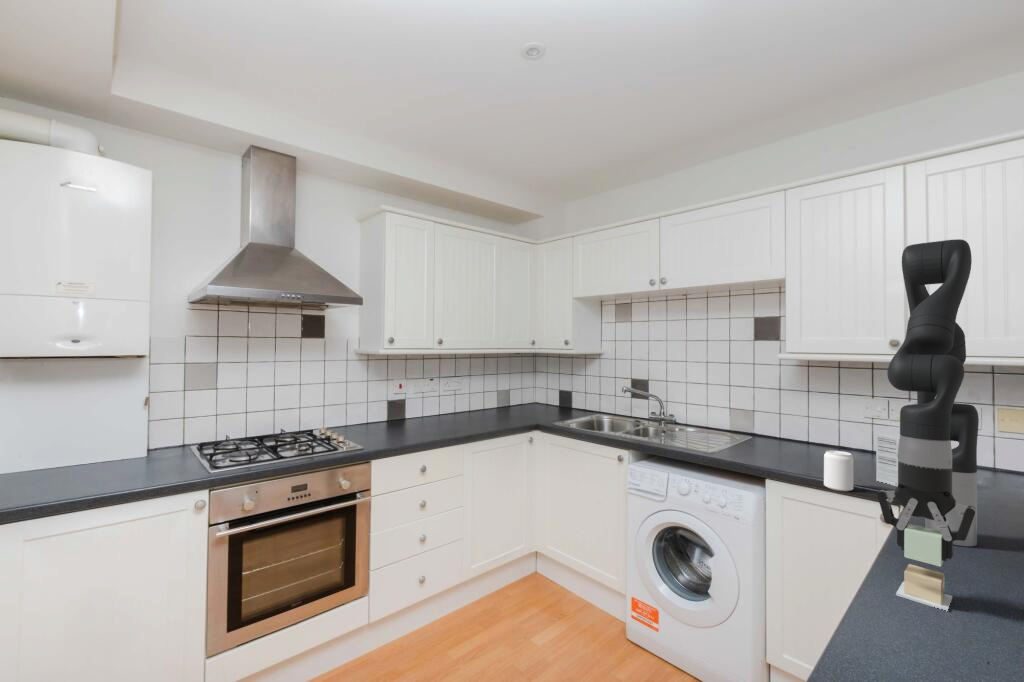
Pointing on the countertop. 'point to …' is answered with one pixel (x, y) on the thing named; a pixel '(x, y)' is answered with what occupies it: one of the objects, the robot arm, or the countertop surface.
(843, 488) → the beverage can
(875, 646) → the countertop surface
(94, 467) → the countertop surface
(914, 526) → the sage block
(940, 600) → the maple block
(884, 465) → the supplement box
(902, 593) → the white tile
